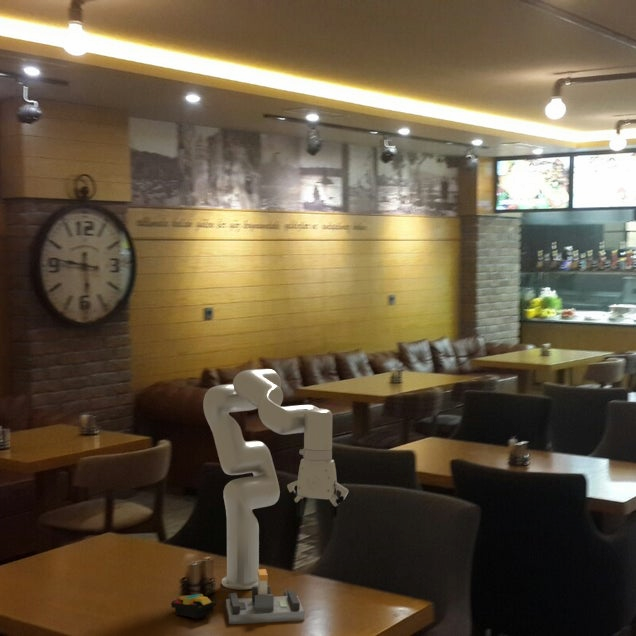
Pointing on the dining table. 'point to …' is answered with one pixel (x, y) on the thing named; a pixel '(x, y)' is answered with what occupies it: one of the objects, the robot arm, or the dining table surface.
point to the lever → (262, 581)
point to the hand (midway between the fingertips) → (317, 517)
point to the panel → (263, 609)
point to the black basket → (193, 606)
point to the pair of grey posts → (288, 593)
